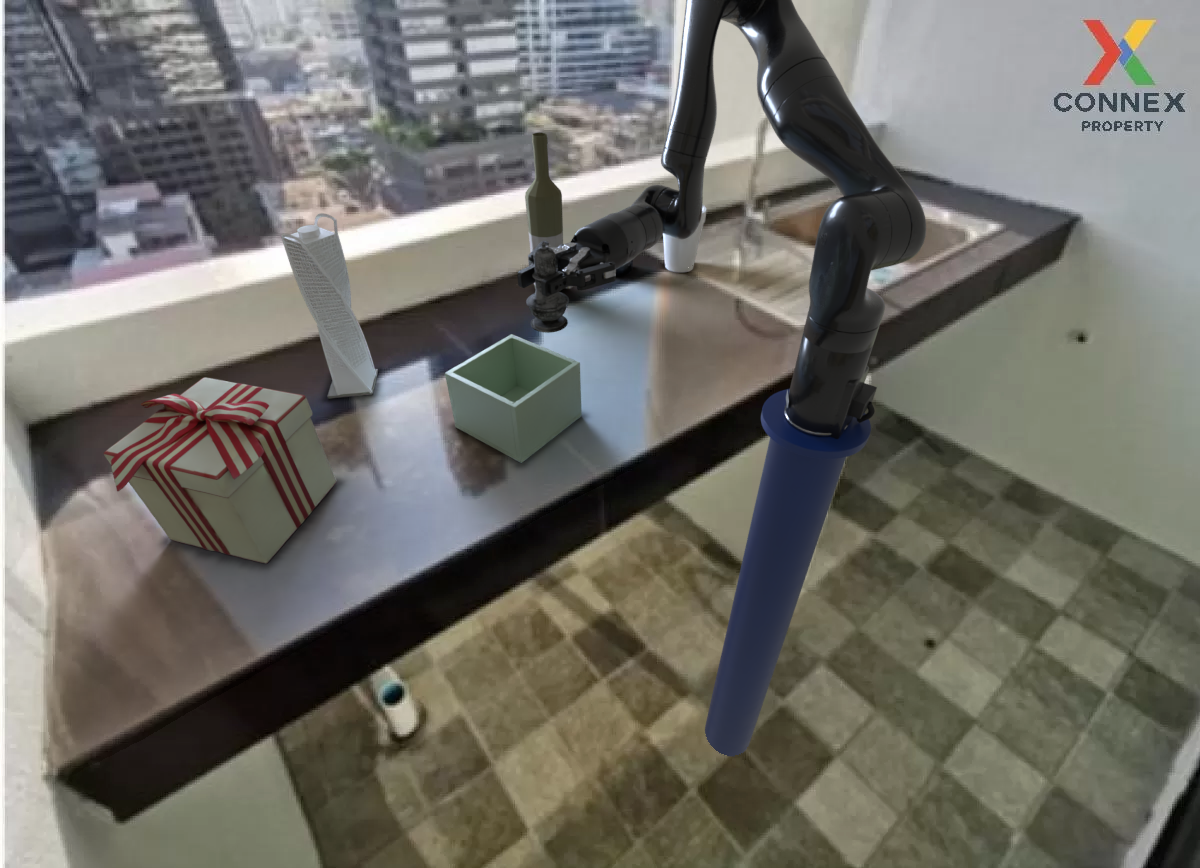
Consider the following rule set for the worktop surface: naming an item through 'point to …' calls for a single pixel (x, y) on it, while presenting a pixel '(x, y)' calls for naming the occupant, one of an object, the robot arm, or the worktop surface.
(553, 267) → the dark grey turned piece
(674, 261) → the foam cup
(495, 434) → the waste bin
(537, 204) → the bottle
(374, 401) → the worktop surface
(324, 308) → the skyscraper
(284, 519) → the gift box
